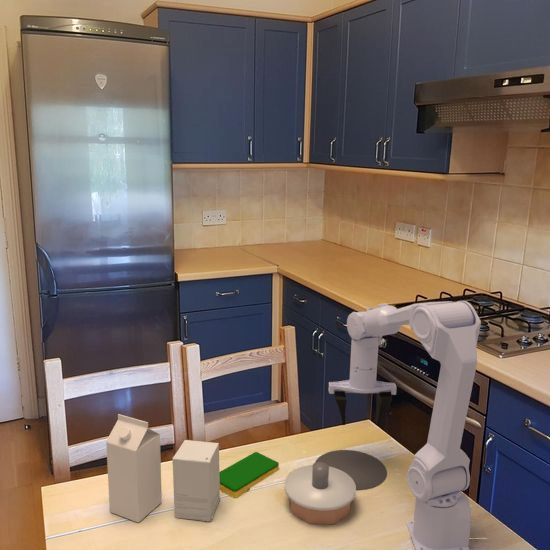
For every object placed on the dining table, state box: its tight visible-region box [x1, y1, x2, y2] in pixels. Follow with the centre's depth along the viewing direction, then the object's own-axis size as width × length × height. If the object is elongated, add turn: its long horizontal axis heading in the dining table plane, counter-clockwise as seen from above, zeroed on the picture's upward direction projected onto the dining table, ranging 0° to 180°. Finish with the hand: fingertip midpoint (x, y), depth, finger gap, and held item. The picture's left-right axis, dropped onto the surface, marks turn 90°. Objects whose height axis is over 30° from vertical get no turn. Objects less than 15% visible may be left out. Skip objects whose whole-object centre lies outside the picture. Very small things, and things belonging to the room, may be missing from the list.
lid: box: [283, 461, 357, 511], centre depth 109 cm, size 14×14×5 cm
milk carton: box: [105, 413, 163, 523], centre depth 106 cm, size 7×7×19 cm
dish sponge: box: [219, 451, 280, 499], centre depth 119 cm, size 7×14×2 cm, turn 139°
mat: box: [314, 449, 388, 492], centre depth 123 cm, size 16×16×1 cm
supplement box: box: [171, 439, 221, 522], centre depth 107 cm, size 7×7×13 cm
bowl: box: [289, 498, 351, 525], centre depth 109 cm, size 12×12×4 cm
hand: (360, 423), depth 122 cm, fingers open, 7 cm apart
